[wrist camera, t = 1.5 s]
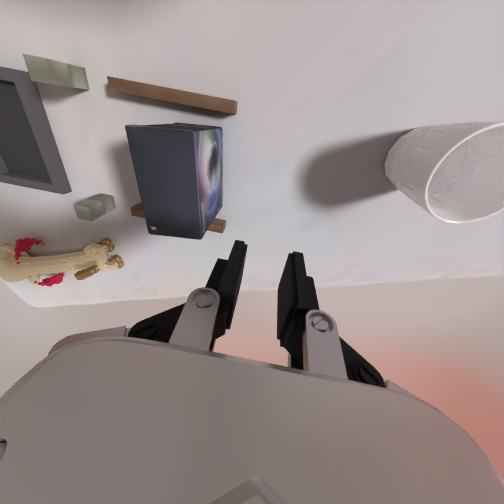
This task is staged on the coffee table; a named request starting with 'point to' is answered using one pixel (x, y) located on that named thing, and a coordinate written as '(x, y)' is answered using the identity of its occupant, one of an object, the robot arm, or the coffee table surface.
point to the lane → (76, 78)
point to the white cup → (451, 169)
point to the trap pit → (27, 137)
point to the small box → (178, 176)
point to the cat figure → (54, 262)
